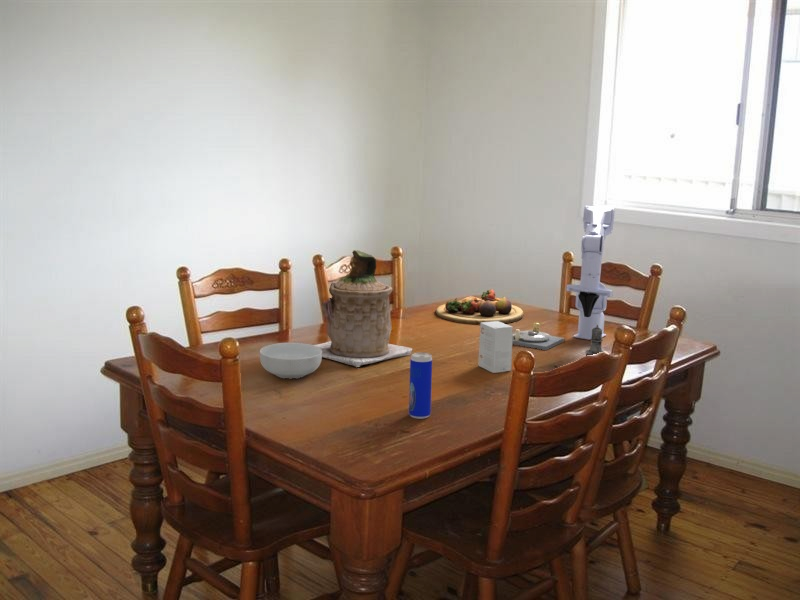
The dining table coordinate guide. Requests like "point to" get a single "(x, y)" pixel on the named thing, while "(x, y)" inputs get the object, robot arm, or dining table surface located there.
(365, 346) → the cookie jar
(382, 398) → the dining table surface
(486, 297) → the wooden plate with food
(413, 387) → the beverage can
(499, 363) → the small box
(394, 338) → the dining table surface
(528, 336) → the flange plate
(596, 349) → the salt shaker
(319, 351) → the cereal bowl
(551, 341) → the jig board
